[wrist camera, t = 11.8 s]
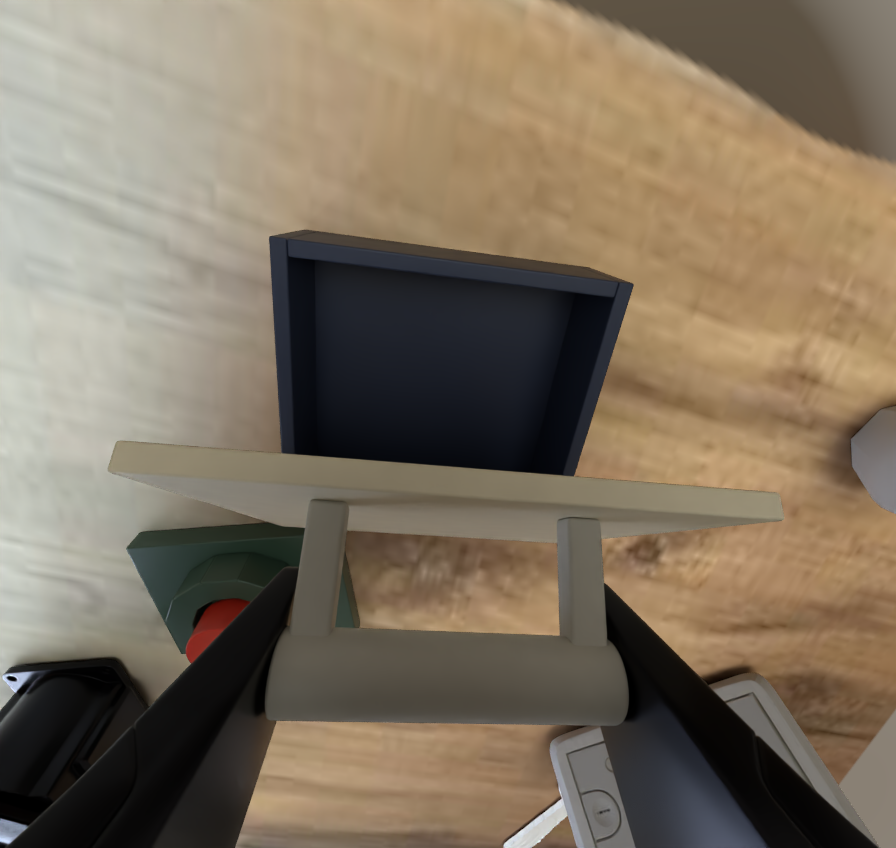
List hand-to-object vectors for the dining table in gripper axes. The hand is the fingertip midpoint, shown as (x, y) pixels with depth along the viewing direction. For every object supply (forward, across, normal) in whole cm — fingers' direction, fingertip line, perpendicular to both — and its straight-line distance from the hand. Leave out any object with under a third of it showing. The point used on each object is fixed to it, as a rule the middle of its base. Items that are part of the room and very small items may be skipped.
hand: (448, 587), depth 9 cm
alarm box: (+10, +9, +12) cm, 18 cm away
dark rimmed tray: (+11, 0, 0) cm, 11 cm away
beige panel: (+3, 0, 0) cm, 3 cm away
